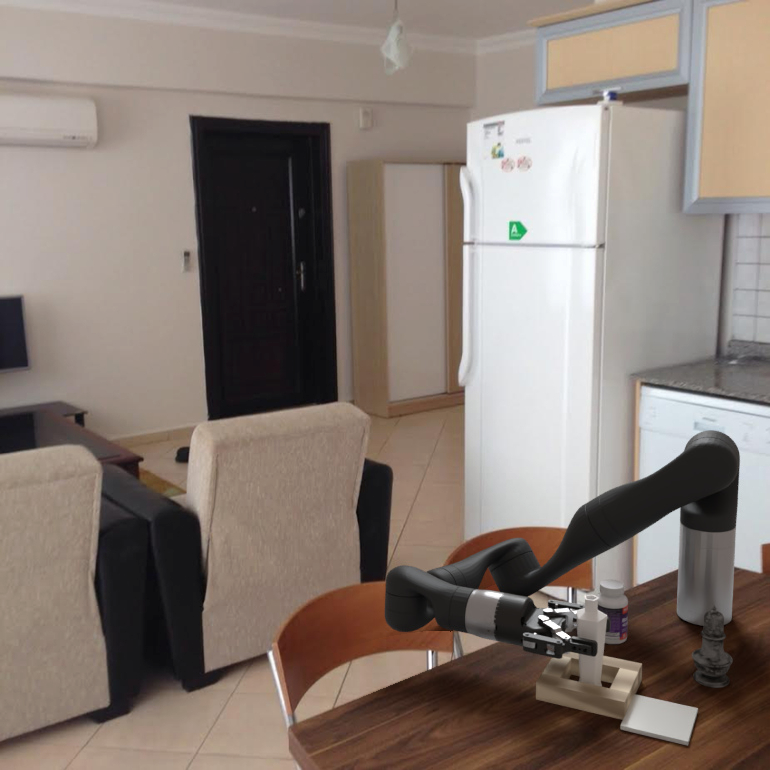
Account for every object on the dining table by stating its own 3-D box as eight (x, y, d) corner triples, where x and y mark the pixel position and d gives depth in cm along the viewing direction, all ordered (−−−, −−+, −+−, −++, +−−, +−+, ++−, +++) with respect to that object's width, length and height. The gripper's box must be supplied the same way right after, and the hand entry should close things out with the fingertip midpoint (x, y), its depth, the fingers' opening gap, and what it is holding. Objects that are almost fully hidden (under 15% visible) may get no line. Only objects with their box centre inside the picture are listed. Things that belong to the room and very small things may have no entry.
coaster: (634, 697, 128) (634, 694, 128) (697, 712, 124) (697, 708, 124) (620, 729, 120) (620, 725, 120) (688, 745, 116) (688, 741, 116)
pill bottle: (628, 646, 144) (630, 591, 142) (595, 644, 145) (596, 589, 143) (625, 631, 149) (626, 578, 147) (593, 629, 150) (594, 576, 148)
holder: (559, 662, 139) (559, 646, 138) (641, 680, 133) (642, 663, 132) (535, 699, 128) (536, 682, 128) (624, 720, 122) (624, 702, 122)
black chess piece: (735, 690, 129) (738, 615, 127) (693, 687, 131) (696, 613, 128) (727, 670, 135) (731, 598, 133) (688, 667, 136) (691, 596, 134)
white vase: (607, 685, 132) (609, 593, 129) (602, 700, 128) (604, 605, 125) (577, 679, 134) (579, 588, 131) (571, 693, 130) (572, 600, 127)
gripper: (514, 620, 142) (614, 639, 135) (483, 659, 130) (591, 682, 123) (514, 577, 141) (615, 594, 134) (483, 612, 129) (592, 633, 121)
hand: (603, 636), depth 128 cm, fingers open, 8 cm apart
